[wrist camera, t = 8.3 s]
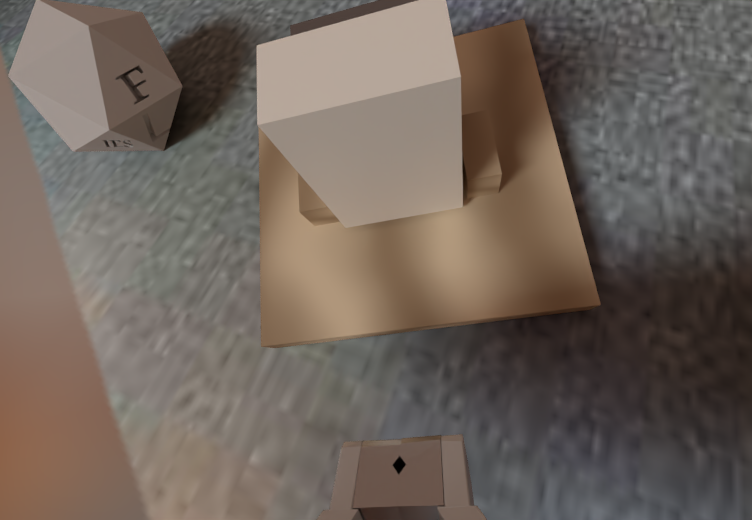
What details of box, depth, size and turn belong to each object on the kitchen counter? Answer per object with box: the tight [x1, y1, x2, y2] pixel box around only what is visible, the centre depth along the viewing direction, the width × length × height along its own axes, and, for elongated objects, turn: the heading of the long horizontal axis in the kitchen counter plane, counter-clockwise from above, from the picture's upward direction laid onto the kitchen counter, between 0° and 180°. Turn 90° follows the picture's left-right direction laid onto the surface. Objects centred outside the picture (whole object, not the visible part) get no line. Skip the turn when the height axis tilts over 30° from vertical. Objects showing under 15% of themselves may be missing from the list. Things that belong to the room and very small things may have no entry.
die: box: [8, 0, 182, 152], centre depth 24 cm, size 8×9×10 cm
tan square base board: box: [259, 19, 601, 348], centre depth 20 cm, size 16×16×4 cm
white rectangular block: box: [257, 0, 463, 228], centre depth 16 cm, size 6×3×9 cm, turn 96°
